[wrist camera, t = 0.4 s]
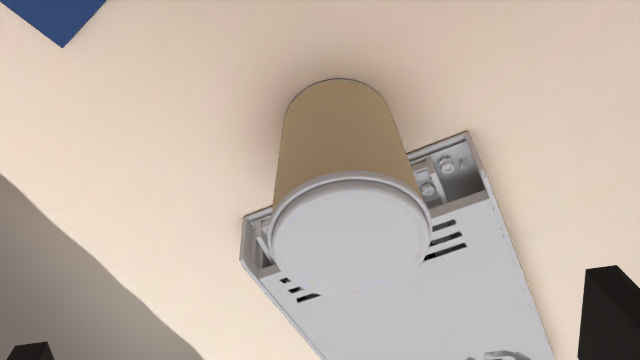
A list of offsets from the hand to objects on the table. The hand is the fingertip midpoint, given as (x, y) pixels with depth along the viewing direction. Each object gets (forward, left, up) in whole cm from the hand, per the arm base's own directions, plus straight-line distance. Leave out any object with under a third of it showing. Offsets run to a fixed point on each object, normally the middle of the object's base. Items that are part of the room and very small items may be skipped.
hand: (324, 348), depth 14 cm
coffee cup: (+6, +10, -26) cm, 29 cm away
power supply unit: (+13, +30, -26) cm, 42 cm away
